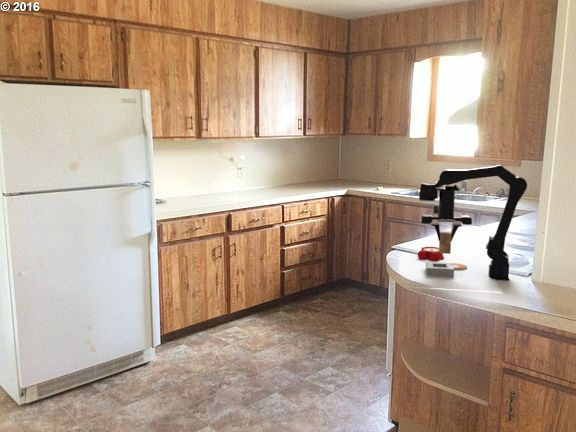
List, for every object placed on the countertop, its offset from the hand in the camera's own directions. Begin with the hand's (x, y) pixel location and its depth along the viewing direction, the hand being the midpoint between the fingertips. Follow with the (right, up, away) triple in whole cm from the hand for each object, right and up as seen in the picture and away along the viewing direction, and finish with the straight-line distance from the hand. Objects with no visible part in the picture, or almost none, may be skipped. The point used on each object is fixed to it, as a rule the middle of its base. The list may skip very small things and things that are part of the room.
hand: (445, 241), depth 208 cm
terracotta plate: (+7, -12, +8) cm, 16 cm away
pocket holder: (-2, -13, 0) cm, 13 cm away
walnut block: (0, -4, +1) cm, 4 cm away
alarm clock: (+1, -9, +25) cm, 26 cm away
